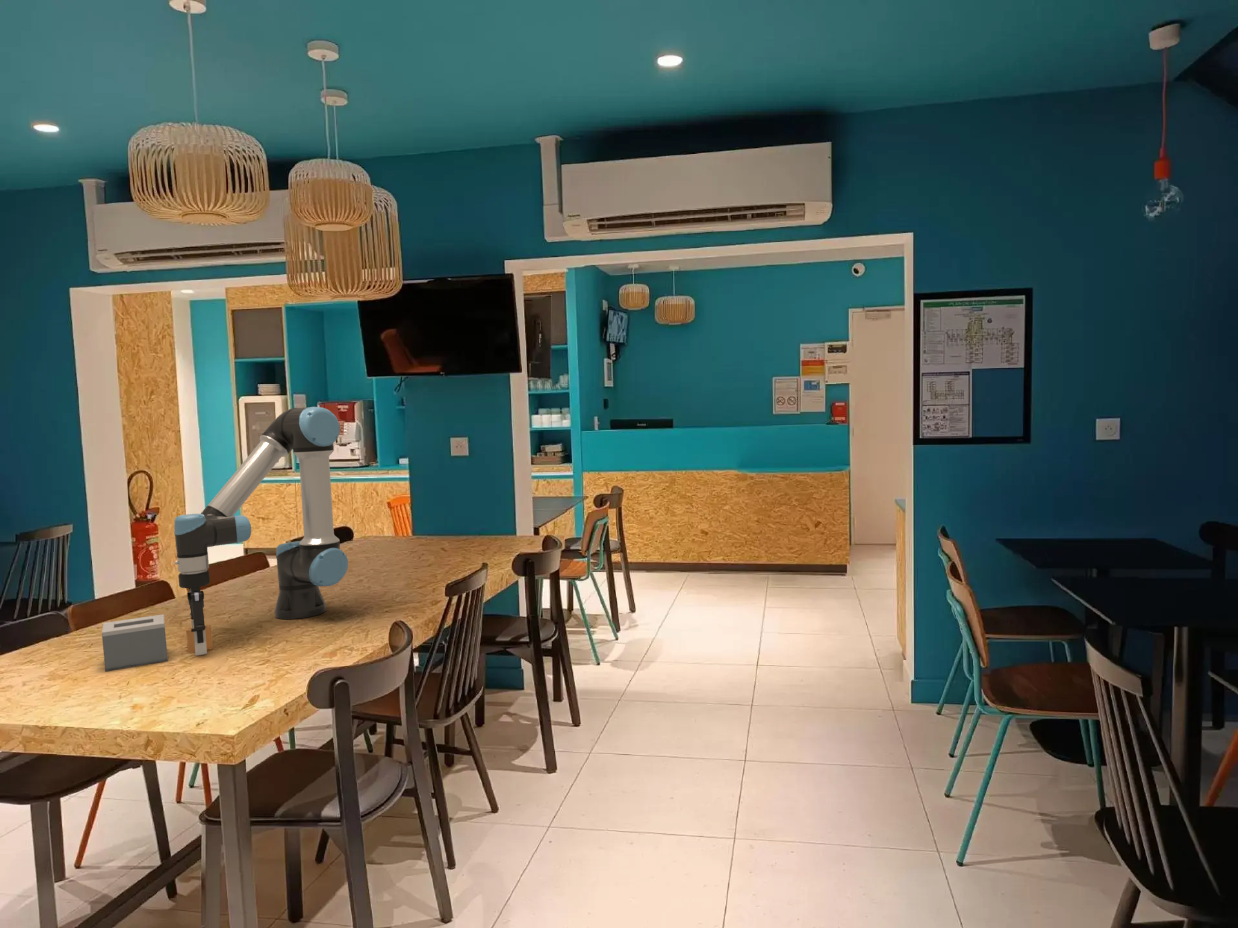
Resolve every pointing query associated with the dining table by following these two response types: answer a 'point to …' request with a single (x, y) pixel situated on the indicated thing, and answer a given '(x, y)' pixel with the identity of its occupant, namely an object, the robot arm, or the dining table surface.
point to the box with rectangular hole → (134, 642)
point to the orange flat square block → (191, 638)
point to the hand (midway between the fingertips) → (199, 648)
